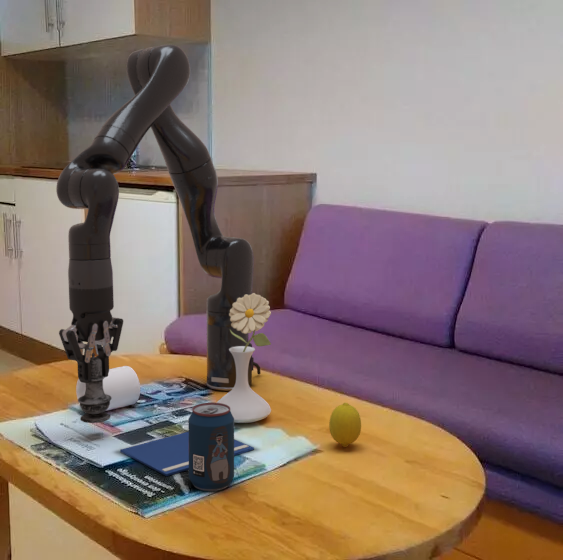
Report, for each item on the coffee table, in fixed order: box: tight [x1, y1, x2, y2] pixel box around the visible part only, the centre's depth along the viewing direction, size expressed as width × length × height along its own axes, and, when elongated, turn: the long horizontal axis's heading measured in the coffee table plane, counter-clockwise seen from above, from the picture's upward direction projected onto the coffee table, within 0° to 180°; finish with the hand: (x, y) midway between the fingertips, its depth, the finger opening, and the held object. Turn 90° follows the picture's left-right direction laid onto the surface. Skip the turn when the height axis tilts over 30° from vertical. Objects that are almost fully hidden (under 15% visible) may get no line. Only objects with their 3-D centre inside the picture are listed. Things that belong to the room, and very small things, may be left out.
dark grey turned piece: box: [77, 352, 112, 424], centre depth 137 cm, size 6×6×12 cm
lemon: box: [328, 402, 362, 448], centre depth 134 cm, size 6×6×8 cm
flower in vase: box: [216, 292, 272, 424], centre depth 147 cm, size 13×11×25 cm
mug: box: [75, 365, 141, 412], centre depth 155 cm, size 12×10×8 cm
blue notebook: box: [119, 431, 255, 477], centre depth 132 cm, size 18×14×1 cm
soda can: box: [188, 402, 235, 492], centre depth 118 cm, size 7×7×12 cm
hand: (94, 378), depth 137 cm, fingers closed on dark grey turned piece, 3 cm apart
